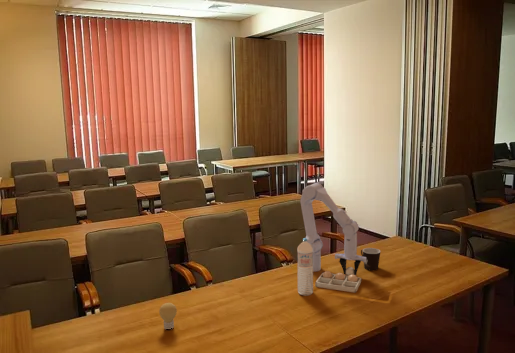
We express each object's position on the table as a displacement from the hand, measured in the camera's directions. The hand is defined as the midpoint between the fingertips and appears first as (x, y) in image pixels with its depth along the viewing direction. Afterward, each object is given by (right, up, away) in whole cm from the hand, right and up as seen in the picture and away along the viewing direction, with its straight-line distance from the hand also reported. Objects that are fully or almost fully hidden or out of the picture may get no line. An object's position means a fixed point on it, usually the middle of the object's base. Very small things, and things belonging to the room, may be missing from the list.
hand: (350, 274), depth 209 cm
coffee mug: (+12, 0, +11) cm, 17 cm away
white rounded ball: (0, -1, 0) cm, 1 cm away
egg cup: (0, -2, 0) cm, 2 cm away
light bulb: (-78, -11, -42) cm, 89 cm away
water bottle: (-23, -5, -14) cm, 28 cm away
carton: (-7, -4, -8) cm, 12 cm away
